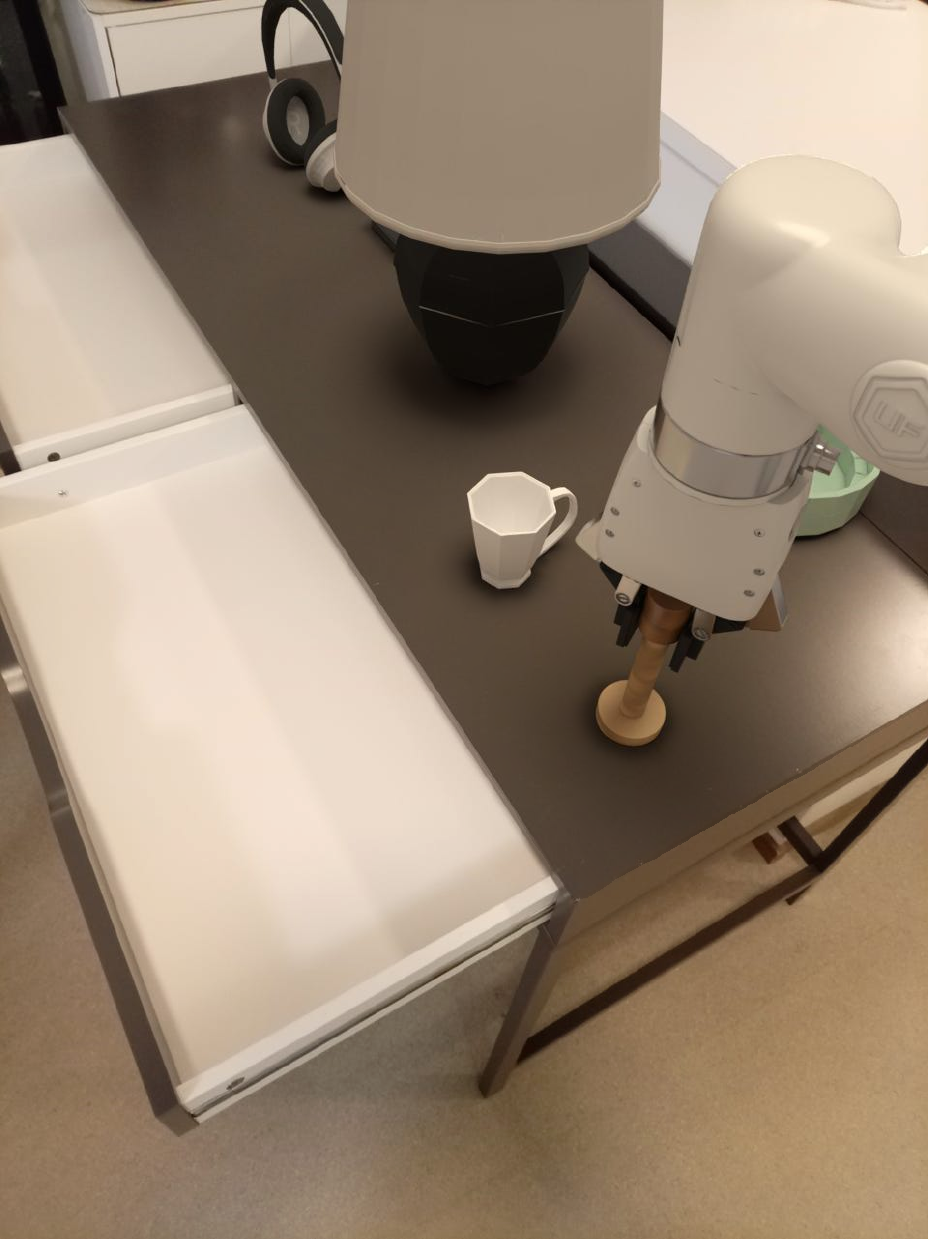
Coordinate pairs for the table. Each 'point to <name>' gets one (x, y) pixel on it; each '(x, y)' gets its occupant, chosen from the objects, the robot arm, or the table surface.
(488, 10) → the table lamp
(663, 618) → the brown long flanged bar
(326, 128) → the headphones
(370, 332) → the table surface
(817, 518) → the bowl
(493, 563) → the cup
